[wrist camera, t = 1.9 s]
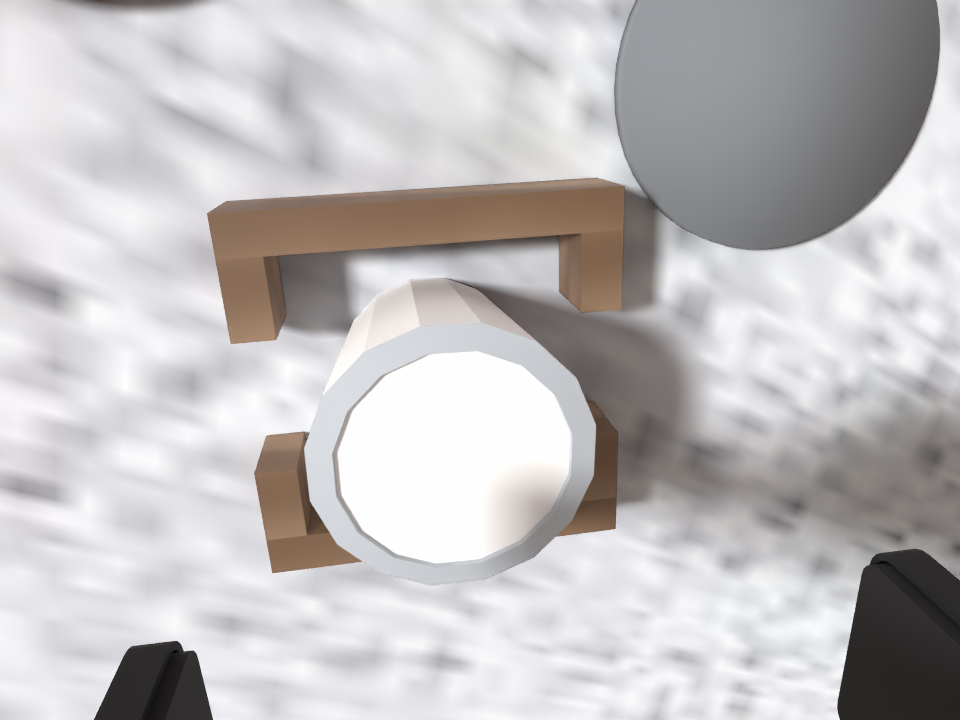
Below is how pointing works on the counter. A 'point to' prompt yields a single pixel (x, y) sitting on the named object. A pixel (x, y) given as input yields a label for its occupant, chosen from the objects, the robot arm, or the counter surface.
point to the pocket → (395, 223)
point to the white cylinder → (447, 438)
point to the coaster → (771, 109)
